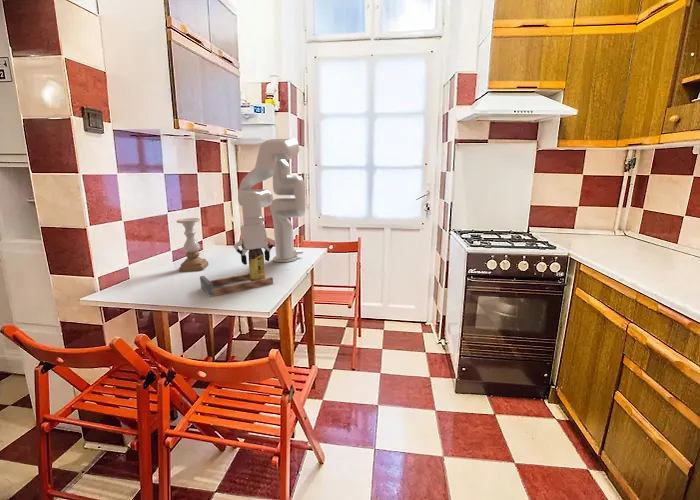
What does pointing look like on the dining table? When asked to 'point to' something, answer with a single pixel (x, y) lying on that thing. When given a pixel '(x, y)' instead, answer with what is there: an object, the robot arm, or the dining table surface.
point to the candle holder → (191, 248)
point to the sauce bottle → (256, 264)
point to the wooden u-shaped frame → (219, 286)
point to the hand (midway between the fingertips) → (256, 262)
